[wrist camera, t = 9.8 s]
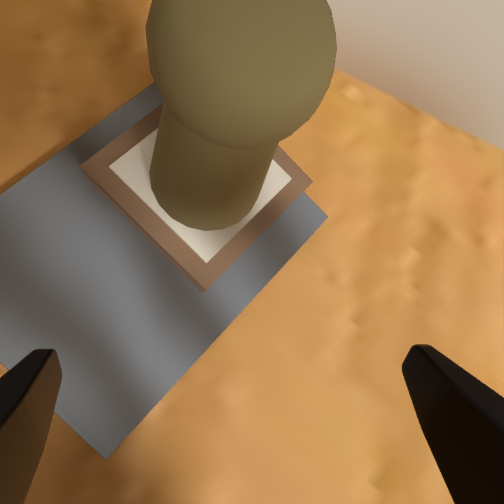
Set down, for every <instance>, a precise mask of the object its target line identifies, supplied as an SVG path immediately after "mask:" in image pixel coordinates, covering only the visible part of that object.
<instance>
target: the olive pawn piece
mask: <svg viewBox="0 0 504 504" xmlns="http://www.w3.org/2000/svg"><path fill="white" fill-rule="evenodd" d="M146 36H147V46H148V54H149V63H150V72H151V74H152V76H153V78H154V80H155V82H156V84H157V86H158V89H159V91H160V93H161V95H162V97H163V99H164V102H163V107H162V112H161V117H160V122H159V127H158V131H157V136H156V141H155V146H154V151H153V156H152V160H151V165H150V170H149V174H150V183H151V189H152V191H153V193H154V196H155V198H156V200H157V202H158V204H159V205H160V207H161V208H162V209H163V210H164V211H165V212H166V213H167V214H168V215H169V216H170V217H171V218H172V219H174V220H176V221H177V222H179V223H181V224H183V225H185V226H186V227H189V228H194V229H198V230H203V231H211V230H222V229H225V228H227V227H230V226H232V225H234V224H237V223H239V222H240V221H241V220H242V219H243V218H244V217H245V216H246V215H248V214H249V213H250V212H251V210H252V208H253V206H254V205H255V203H256V201H257V199H258V197H259V194H260V191H261V189H262V186H263V183H264V181H265V178H266V175H267V173H268V170H269V167H270V164H271V162H272V159H273V156H274V154H275V151H276V148H277V145H278V143H279V141H282V140H283V139H285V138H287V137H288V136H290V135H291V134H293V133H294V132H295V131H296V130H297V129H298V128H300V127H301V126H302V125H303V124H304V123H305V122H307V121H308V120H309V119H310V117H311V116H312V115H313V114H314V112H315V111H316V110H317V108H318V107H319V105H320V103H321V101H322V99H323V97H324V95H325V93H326V92H327V90H328V88H329V85H330V82H331V79H332V76H333V73H334V65H335V58H336V50H337V45H336V33H335V28H334V23H333V17H332V12H331V9H330V7H329V5H328V3H327V1H326V0H152V4H151V7H150V11H149V15H148V19H147V23H146Z"/></svg>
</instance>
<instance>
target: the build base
mask: <svg viewBox="0 0 504 504" xmlns="http://www.w3.org/2000/svg"><path fill="white" fill-rule="evenodd" d="M163 102H164V99H163V97H162V95H161V93H160V91H159V89H158V86H157V84H156V82H154V83H153V84H152V85H150V86H149V87H147V88H146V89H145V90H143V91H142V92H141V93H139V94H138V95H136V96H135V97H134V98H132V99H131V100H130V101H128V102H127V103H125V104H124V105H123V106H121V107H120V108H119V109H117V110H116V111H115V112H113V113H112V114H110V115H109V116H108V117H106V118H105V119H104V120H102V121H101V122H99V123H98V124H97V125H95V126H94V127H93V128H91V129H90V130H88V131H87V132H86V133H84V134H83V135H82V136H80V137H79V138H77V139H76V140H75V141H73V142H72V143H71V144H69V145H68V146H66V147H65V148H64V149H62V150H61V151H60V152H58V153H57V154H56V155H54V156H53V157H51V158H50V159H49V160H47V161H46V162H45V163H43V164H42V165H40V166H39V167H38V168H36V169H35V170H34V171H32V172H31V173H29V174H28V175H27V176H25V177H24V178H23V179H21V180H20V181H18V182H17V183H16V184H14V185H13V186H12V187H10V188H9V189H8V190H6V191H5V192H3V193H2V194H1V195H0V362H1V363H2V364H3V365H4V366H5V367H6V368H7V369H8V370H10V369H11V368H12V367H14V366H15V365H16V364H17V363H18V362H19V361H21V360H22V359H23V358H24V357H25V356H27V355H28V354H29V353H30V352H31V351H33V350H35V349H47V348H52V349H55V350H56V352H57V355H58V358H59V362H60V366H61V369H62V382H61V386H60V389H59V393H58V397H57V401H56V405H55V409H54V412H55V413H56V414H57V415H58V416H59V417H60V418H61V419H62V420H63V421H64V422H65V423H67V424H68V425H69V426H70V427H71V428H72V429H73V430H74V431H75V432H76V433H77V434H78V435H80V436H81V437H82V438H83V439H84V440H85V441H86V442H87V443H88V444H89V445H90V446H91V447H92V448H94V449H95V450H96V451H97V452H98V453H99V454H100V455H101V456H102V457H103V458H104V459H105V460H106V459H107V458H108V457H109V456H110V454H111V453H112V452H113V451H114V450H115V449H116V448H117V447H118V446H119V445H120V444H121V442H122V441H123V440H124V439H125V438H126V437H127V436H128V435H129V434H130V433H131V432H132V430H133V429H134V428H135V427H136V426H137V425H138V424H139V423H140V422H141V421H142V420H143V418H144V417H145V416H146V415H147V414H148V413H149V412H150V411H151V410H152V409H153V408H154V406H155V405H156V404H157V403H158V402H159V401H160V400H161V399H162V398H163V397H164V396H165V394H166V393H167V392H168V391H169V390H170V389H171V388H172V387H173V386H174V385H175V384H176V382H177V381H178V380H179V379H180V378H181V377H182V376H183V375H184V374H185V373H186V372H187V370H188V369H189V368H190V367H191V366H192V365H193V364H194V363H195V362H196V361H197V360H198V358H199V357H200V356H201V355H202V354H203V353H204V352H205V351H206V350H207V349H208V348H209V346H210V345H211V344H212V343H213V342H214V341H215V340H216V339H217V338H218V337H219V336H220V334H221V333H222V332H223V331H224V330H225V329H226V328H227V327H228V326H229V325H230V324H231V322H232V321H233V320H234V319H235V318H236V317H237V316H238V315H239V314H240V313H241V312H242V311H243V309H244V308H245V307H246V306H247V305H248V304H249V303H250V302H251V301H252V300H253V299H254V297H255V296H256V295H257V294H258V293H259V292H260V291H261V290H262V289H263V288H264V287H265V285H266V284H267V283H268V282H269V281H270V280H271V279H272V278H273V277H274V276H275V275H276V273H277V272H278V271H279V270H280V269H281V268H282V267H283V266H284V265H285V264H286V263H287V261H288V260H289V259H290V258H291V257H292V256H293V255H294V254H295V253H296V252H297V251H298V249H299V248H300V247H301V246H302V245H303V244H304V243H305V242H306V241H307V240H308V239H309V237H310V236H311V235H312V234H313V233H314V232H315V231H316V230H317V229H318V228H319V227H320V225H321V224H322V223H323V222H324V221H325V220H326V219H327V218H328V216H327V215H326V214H325V213H324V212H323V211H322V210H321V209H320V208H319V207H318V206H317V205H316V204H315V203H314V202H313V201H312V200H311V199H310V198H309V197H308V196H307V195H306V193H305V192H304V190H305V189H306V188H307V187H308V186H309V185H310V184H311V183H312V182H313V181H312V180H311V179H310V178H309V177H308V176H307V175H306V174H305V173H304V172H303V171H302V169H301V168H300V167H299V166H298V165H297V164H296V163H295V162H294V161H293V160H292V159H291V158H290V157H289V156H288V155H287V154H286V153H285V152H284V151H283V150H282V149H281V148H280V147H279V146H278V145H277V148H276V151H275V154H274V156H273V159H272V162H271V164H270V167H269V170H268V173H267V175H266V178H265V181H264V183H263V186H262V189H261V191H260V194H259V197H258V199H257V201H256V203H255V205H254V206H253V208H252V210H251V212H250V213H249V214H248V215H246V216H245V217H244V218H243V219H242V220H241V221H240V222H239V223H237V224H234V225H232V226H230V227H227V228H225V229H222V230H211V231H203V230H198V229H194V228H189V227H186V226H185V225H183V224H181V223H179V222H177V221H176V220H174V219H172V218H171V217H170V216H169V215H168V214H167V213H166V212H165V211H164V210H163V209H162V208H161V207H160V205H159V204H158V202H157V200H156V198H155V196H154V193H153V191H152V189H151V183H150V174H149V170H150V165H151V160H152V156H153V151H154V146H155V141H156V136H157V131H158V127H159V122H160V117H161V112H162V107H163Z"/></svg>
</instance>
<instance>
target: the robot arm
mask: <svg viewBox="0 0 504 504" xmlns="http://www.w3.org/2000/svg"><path fill="white" fill-rule="evenodd" d="M402 373H403V376H404V379H405V382H406V385H407V388H408V391H409V394H410V397H411V400H412V403H413V406H414V409H415V412H416V415H417V418H418V421H419V423H420V426H421V429H422V431H423V433H424V436H425V438H426V440H427V443H428V445H429V447H430V449H431V452H432V454H433V456H434V458H435V461H436V463H437V465H438V467H439V470H440V472H441V474H442V476H443V479H444V481H445V483H446V485H447V488H448V490H449V492H450V494H451V497H452V499H453V501H454V504H504V398H503V397H502V396H501V395H499V394H498V393H496V392H495V391H494V390H492V389H491V388H489V387H488V386H487V385H485V384H484V383H482V382H481V381H480V380H478V379H477V378H475V377H474V376H473V375H471V374H470V373H468V372H467V371H466V370H464V369H463V368H461V367H460V366H459V365H457V364H456V363H454V362H453V361H452V360H450V359H449V358H447V357H446V356H445V355H443V354H442V353H440V352H439V351H438V350H436V349H435V348H433V347H432V346H430V345H427V344H416V345H413V346H412V347H411V349H410V350H409V352H408V354H407V356H406V358H405V360H404V362H403V364H402ZM61 382H62V369H61V366H60V362H59V358H58V355H57V352H56V350H55V349H52V348H47V349H35V350H33V351H31V352H30V353H29V354H28V355H27V356H25V357H24V358H23V359H22V360H21V361H19V362H18V363H17V364H16V365H15V366H14V367H12V368H11V369H10V370H9V371H8V372H6V373H5V374H4V375H3V376H2V377H1V378H0V504H23V503H24V501H25V498H26V495H27V493H28V490H29V488H30V485H31V482H32V480H33V477H34V474H35V472H36V469H37V466H38V464H39V461H40V458H41V455H42V453H43V450H44V446H45V443H46V439H47V435H48V432H49V428H50V424H51V420H52V416H53V412H54V409H55V405H56V401H57V397H58V393H59V389H60V386H61Z"/></svg>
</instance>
